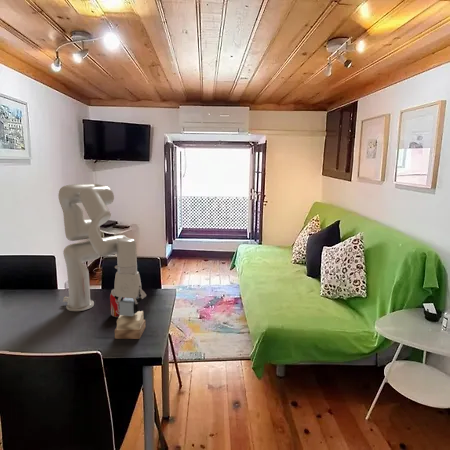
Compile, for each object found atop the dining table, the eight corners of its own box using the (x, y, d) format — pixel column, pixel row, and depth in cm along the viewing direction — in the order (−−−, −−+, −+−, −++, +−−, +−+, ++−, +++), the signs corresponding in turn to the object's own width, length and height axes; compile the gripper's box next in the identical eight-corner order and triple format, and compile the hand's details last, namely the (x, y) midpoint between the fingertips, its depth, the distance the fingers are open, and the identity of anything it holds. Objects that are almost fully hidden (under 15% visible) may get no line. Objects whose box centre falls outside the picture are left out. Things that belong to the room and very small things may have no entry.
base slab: (115, 339, 143) (114, 330, 142) (122, 327, 153) (122, 319, 152) (139, 339, 143) (139, 330, 142) (145, 328, 153) (145, 319, 152)
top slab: (117, 330, 142) (116, 320, 142) (122, 320, 151) (121, 311, 151) (139, 329, 143) (139, 320, 142) (143, 319, 152) (143, 311, 151)
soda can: (112, 319, 160) (111, 294, 158) (109, 313, 166) (108, 289, 164) (128, 316, 163) (127, 291, 161) (124, 310, 170) (123, 286, 167)
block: (119, 315, 144) (119, 302, 143) (126, 309, 149) (125, 297, 148) (132, 316, 143) (131, 303, 142) (138, 310, 148) (137, 298, 147)
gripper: (103, 270, 141) (105, 313, 144) (143, 273, 138) (145, 317, 141) (112, 265, 148) (114, 306, 151) (151, 267, 145) (152, 309, 148)
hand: (129, 310), depth 146 cm, fingers closed on block, 5 cm apart
